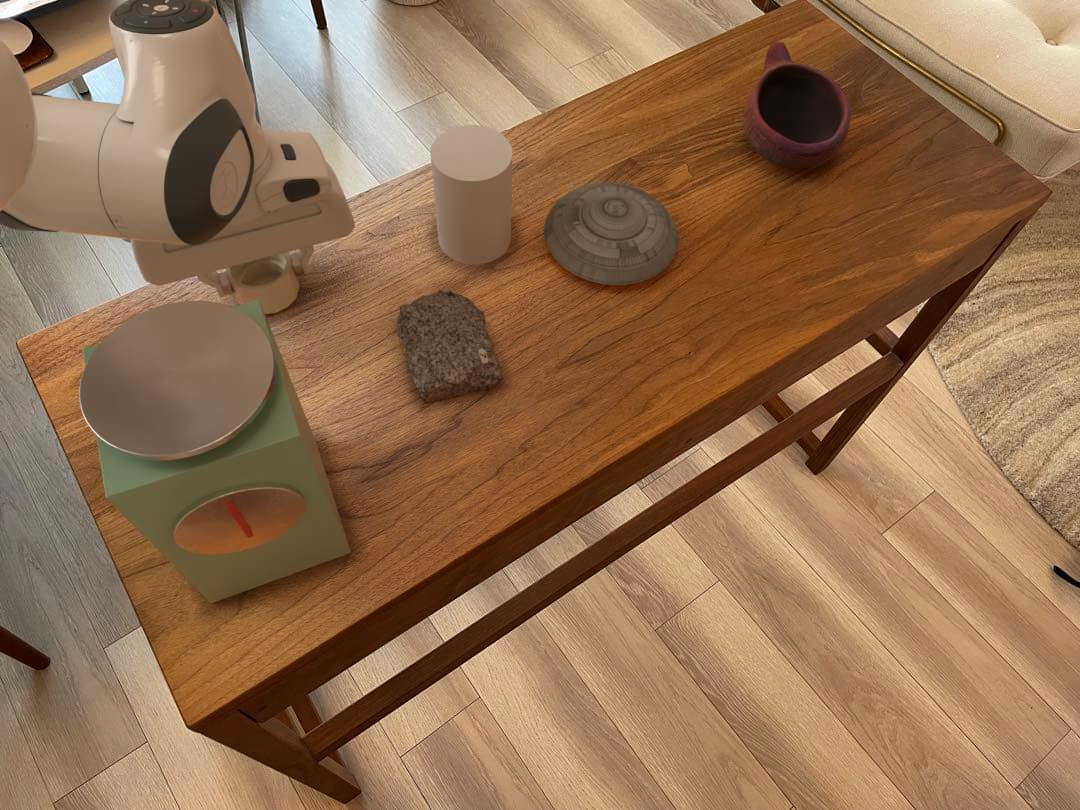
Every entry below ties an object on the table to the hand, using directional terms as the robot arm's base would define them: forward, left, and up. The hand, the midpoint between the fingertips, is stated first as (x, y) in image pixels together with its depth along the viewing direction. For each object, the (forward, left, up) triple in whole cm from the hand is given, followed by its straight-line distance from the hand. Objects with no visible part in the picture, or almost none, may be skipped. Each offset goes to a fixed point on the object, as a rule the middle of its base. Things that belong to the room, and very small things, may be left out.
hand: (264, 280), depth 82 cm
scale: (-6, -25, -2) cm, 26 cm away
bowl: (+64, +2, -2) cm, 64 cm away
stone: (+15, -14, -2) cm, 21 cm away
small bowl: (0, 0, -2) cm, 2 cm away
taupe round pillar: (+23, 0, -2) cm, 23 cm away
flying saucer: (+37, -6, -2) cm, 38 cm away
